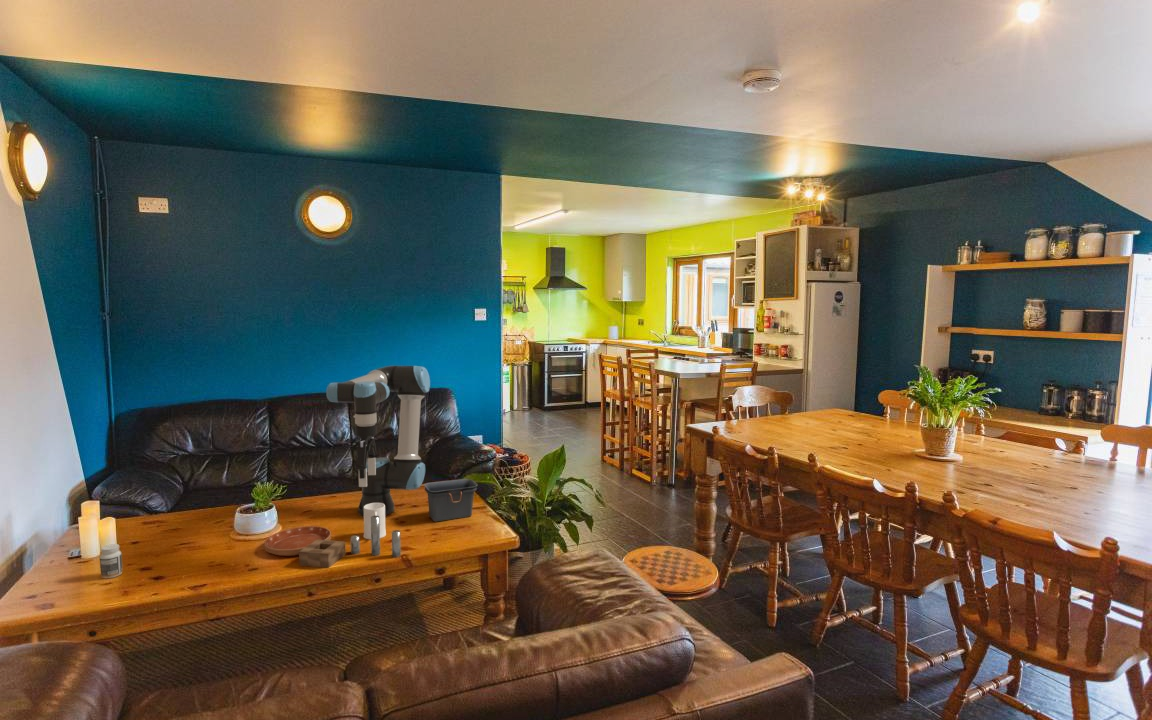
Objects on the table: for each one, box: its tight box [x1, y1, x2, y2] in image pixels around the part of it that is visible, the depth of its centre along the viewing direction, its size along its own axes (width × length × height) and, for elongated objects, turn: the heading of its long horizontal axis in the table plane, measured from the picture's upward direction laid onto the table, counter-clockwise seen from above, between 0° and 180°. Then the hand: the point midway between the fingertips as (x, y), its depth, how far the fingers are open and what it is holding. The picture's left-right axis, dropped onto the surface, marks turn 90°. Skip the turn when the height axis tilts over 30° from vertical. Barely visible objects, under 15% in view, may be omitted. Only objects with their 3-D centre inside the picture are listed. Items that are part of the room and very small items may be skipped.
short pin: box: [350, 534, 361, 555], centre depth 219 cm, size 3×3×6 cm
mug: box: [363, 503, 387, 540], centre depth 234 cm, size 12×8×12 cm
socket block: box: [298, 539, 346, 569], centre depth 212 cm, size 11×11×5 cm
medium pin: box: [391, 529, 402, 558], centre depth 217 cm, size 3×3×9 cm
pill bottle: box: [99, 543, 124, 580], centre depth 198 cm, size 6×6×10 cm
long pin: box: [370, 516, 381, 557], centre depth 217 cm, size 3×3×14 cm
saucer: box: [263, 525, 332, 557], centre depth 225 cm, size 23×23×4 cm
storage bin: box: [423, 478, 478, 523], centre depth 256 cm, size 21×16×14 cm
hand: (367, 480), depth 220 cm, fingers open, 13 cm apart
